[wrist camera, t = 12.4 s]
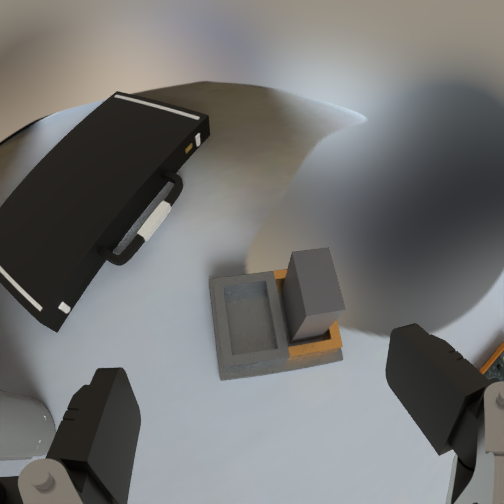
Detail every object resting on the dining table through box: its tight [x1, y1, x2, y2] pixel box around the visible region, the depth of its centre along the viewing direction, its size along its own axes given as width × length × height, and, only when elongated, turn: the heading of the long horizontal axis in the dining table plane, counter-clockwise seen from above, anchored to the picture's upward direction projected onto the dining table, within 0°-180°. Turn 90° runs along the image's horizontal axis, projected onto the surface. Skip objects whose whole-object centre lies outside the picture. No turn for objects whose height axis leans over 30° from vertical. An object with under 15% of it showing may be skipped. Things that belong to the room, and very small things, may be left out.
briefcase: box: [0, 91, 210, 332], centre depth 50 cm, size 45×6×30 cm
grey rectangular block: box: [281, 248, 345, 343], centre depth 37 cm, size 7×4×12 cm, turn 8°
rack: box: [209, 269, 343, 381], centre depth 41 cm, size 14×16×4 cm
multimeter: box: [479, 342, 504, 383], centre depth 36 cm, size 9×18×3 cm, turn 118°
